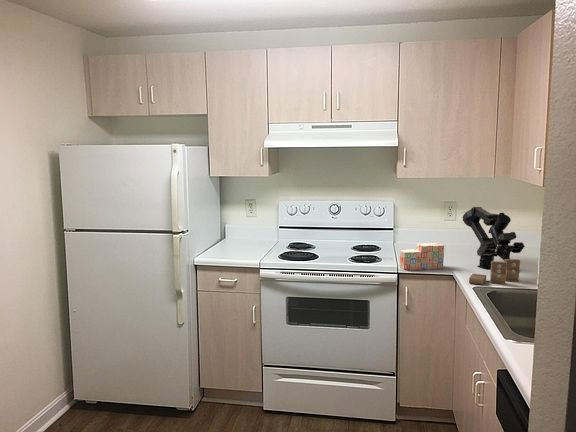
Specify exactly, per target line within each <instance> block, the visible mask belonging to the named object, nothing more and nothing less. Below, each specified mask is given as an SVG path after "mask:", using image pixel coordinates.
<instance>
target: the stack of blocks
mask: <svg viewBox="0 0 576 432" xmlns="http://www.w3.org/2000/svg"><path fill="white" fill-rule="evenodd" d="M444 258H445V245H443V244H441V243H434V242H433V243H432V242H430V243H428V242H427V243H417V244H416V249H400V250H399V268H401V269H402V270H403V271H408V270H409V271H411V270H436V269H437V270H438V269H441V270H442V269H444Z"/></svg>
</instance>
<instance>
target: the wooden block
mask: <svg viewBox="0 0 576 432" xmlns="http://www.w3.org/2000/svg"><path fill="white" fill-rule="evenodd" d="M486 281H487V275H486V274H482V273H481V274H480V273H472V274H471V275H470V276H469V278H468V284H475V285H481V286H483V285H484V284H485V283H486Z"/></svg>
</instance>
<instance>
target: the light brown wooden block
mask: <svg viewBox="0 0 576 432" xmlns="http://www.w3.org/2000/svg"><path fill="white" fill-rule="evenodd" d="M489 279H490V280H489V282H490V284H494V285H495V284H496V285H506V281H505V279H506V262H505V261H504V260H502V261H500V260H499V261H498V260H494V261H491V269H490V278H489Z"/></svg>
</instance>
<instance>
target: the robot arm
mask: <svg viewBox="0 0 576 432" xmlns="http://www.w3.org/2000/svg"><path fill="white" fill-rule="evenodd" d="M481 220H483V221H482V222H483V224H484V225H485V226H489V230H488V234H490V235H491V237H489V236H488V234H487V232H486V231H485V230H484V227H483V226H482V224H481V223H480V221H481ZM462 221H463V223H464V225H465V226H467V227H469V228H471V230H472V231H473V233H474V235H475V237H476V239H477V240H478V241H479V243H480V244H479V247H478V248H477V250H476V253H477V254H476V255H477V256H479V264H478V265H477V267H478V268H482V269H485V270H491V261H495V257H499V258H500V259H502V261H503V262H505V259H511V253H512V254H519V253H521V252H522V251H523V249H525V245H524V243H523V241H522V242H521V241H520V242H517V241H516V242H514V243H513V244H511V241H513V240H515V239H517V234H516V232H515V231H510V232H504V230H506V229H507V227H508V226H509V225H510V223H511V217H510V216H509V215H507V214H505V212H499V214H498V213H492V212H489V211H487V210H486V209H483V207H481V206H472V207H471V208H470V209H469V210H467V211H465V212H464V214H463V215H462Z"/></svg>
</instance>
